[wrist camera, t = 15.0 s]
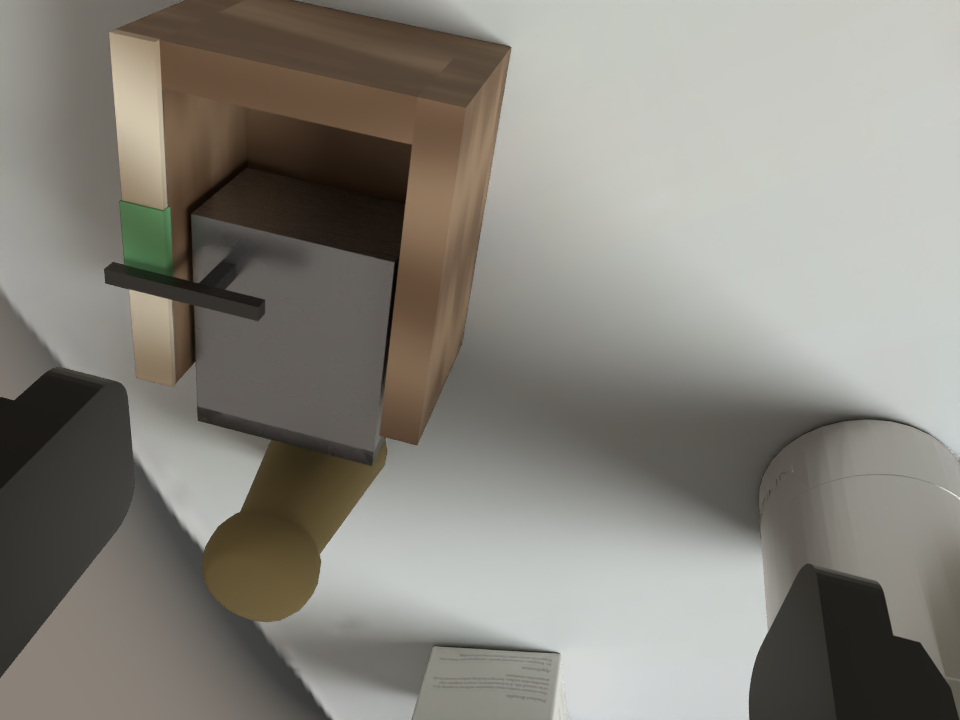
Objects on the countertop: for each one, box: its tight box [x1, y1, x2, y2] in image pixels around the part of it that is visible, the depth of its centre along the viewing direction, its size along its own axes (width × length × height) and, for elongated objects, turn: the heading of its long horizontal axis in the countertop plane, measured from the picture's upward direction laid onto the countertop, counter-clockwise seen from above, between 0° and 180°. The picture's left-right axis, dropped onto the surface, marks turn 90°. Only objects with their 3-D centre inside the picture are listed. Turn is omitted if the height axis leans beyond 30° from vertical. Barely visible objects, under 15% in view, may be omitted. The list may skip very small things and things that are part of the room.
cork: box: [202, 440, 387, 622], centre depth 44 cm, size 6×6×11 cm
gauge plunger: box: [104, 168, 405, 466], centre depth 38 cm, size 10×10×8 cm
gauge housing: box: [109, 0, 511, 445], centre depth 36 cm, size 14×12×8 cm
